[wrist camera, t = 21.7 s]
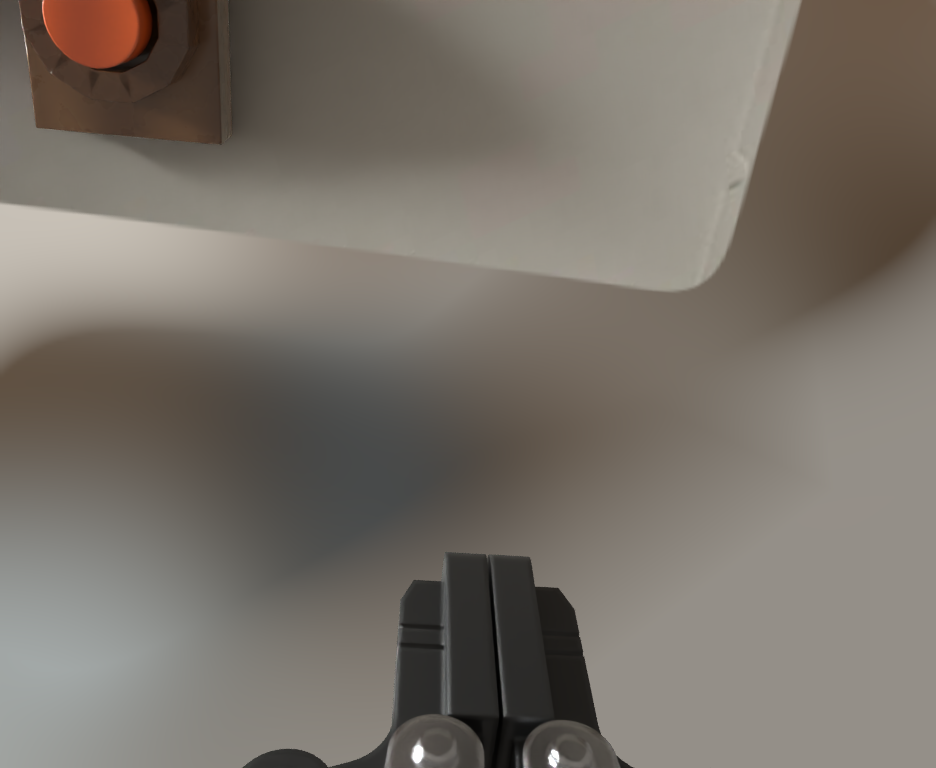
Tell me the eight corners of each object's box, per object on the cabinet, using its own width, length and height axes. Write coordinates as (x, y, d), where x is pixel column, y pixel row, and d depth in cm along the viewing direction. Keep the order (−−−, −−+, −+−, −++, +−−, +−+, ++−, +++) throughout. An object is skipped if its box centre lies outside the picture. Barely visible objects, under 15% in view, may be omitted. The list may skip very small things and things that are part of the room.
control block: (225, -112, 35) (201, -119, 31) (232, 135, 39) (212, 153, 36) (25, -134, 34) (-23, -145, 31) (55, 119, 39) (17, 136, 35)
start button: (149, -30, 33) (135, -29, 31) (156, 68, 34) (142, 73, 33) (54, -40, 33) (35, -40, 31) (65, 59, 34) (47, 64, 33)
